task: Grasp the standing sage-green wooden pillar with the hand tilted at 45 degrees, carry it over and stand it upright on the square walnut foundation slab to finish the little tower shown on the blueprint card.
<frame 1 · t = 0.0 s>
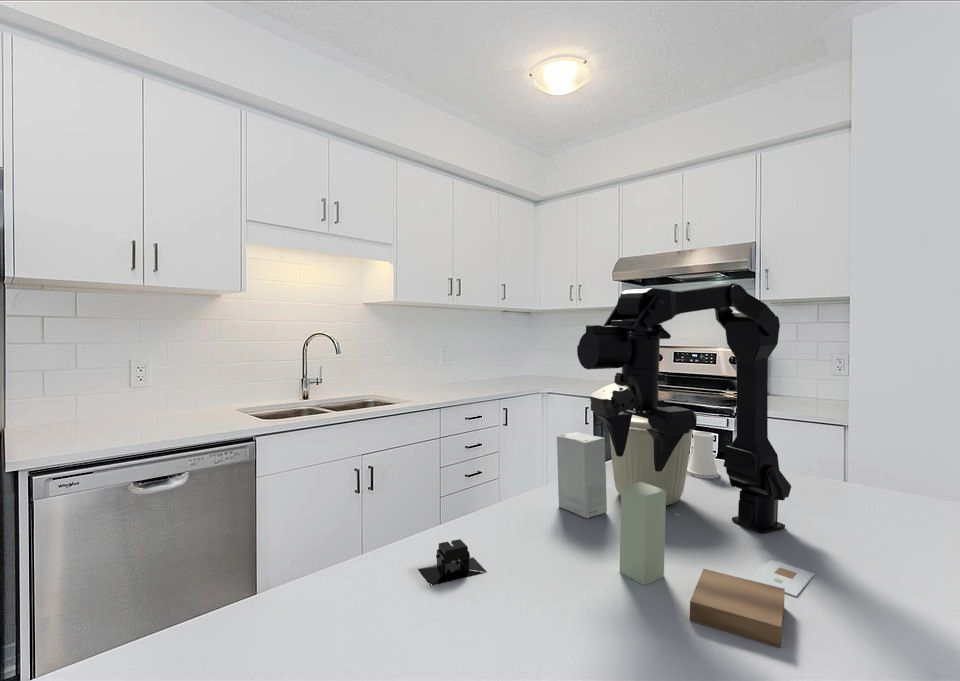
hand: (638, 463, 83), 15 cm above the table, tool pointing down, fingers open, 9 cm apart
vase: (702, 474, 126), on the table
skincare box: (580, 510, 102), on the table
foundation slab: (737, 613, 67), on the table
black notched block: (452, 575, 78), on the table
blueprint card: (782, 577, 76), on the table
pillar: (641, 574, 77), on the table
canister: (648, 498, 109), on the table
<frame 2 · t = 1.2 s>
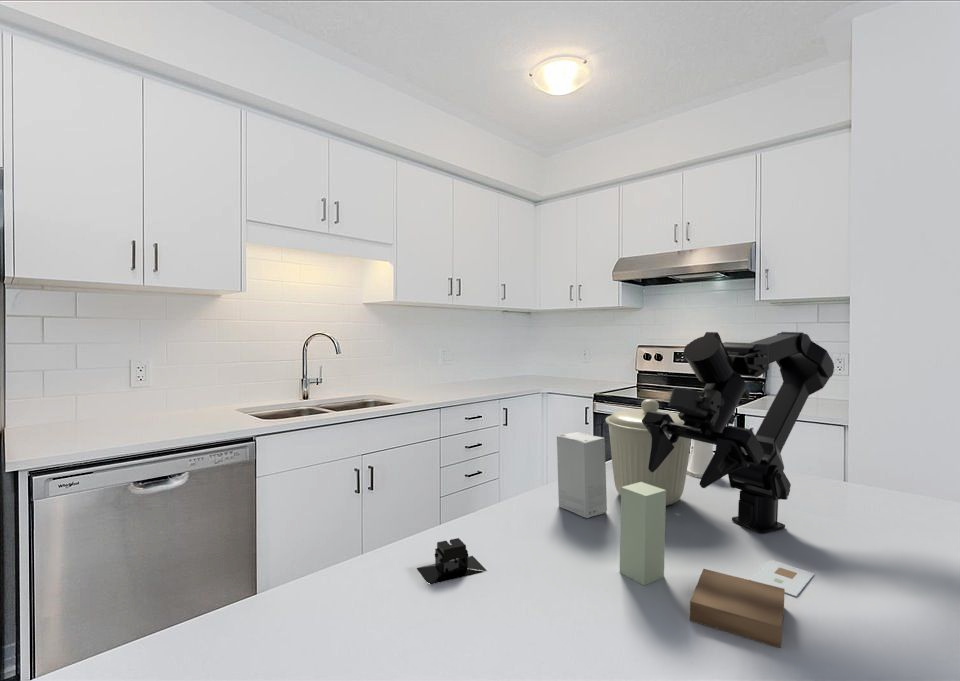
hand: (674, 478, 80), 13 cm above the table, tool tilted 45°, fingers open, 9 cm apart
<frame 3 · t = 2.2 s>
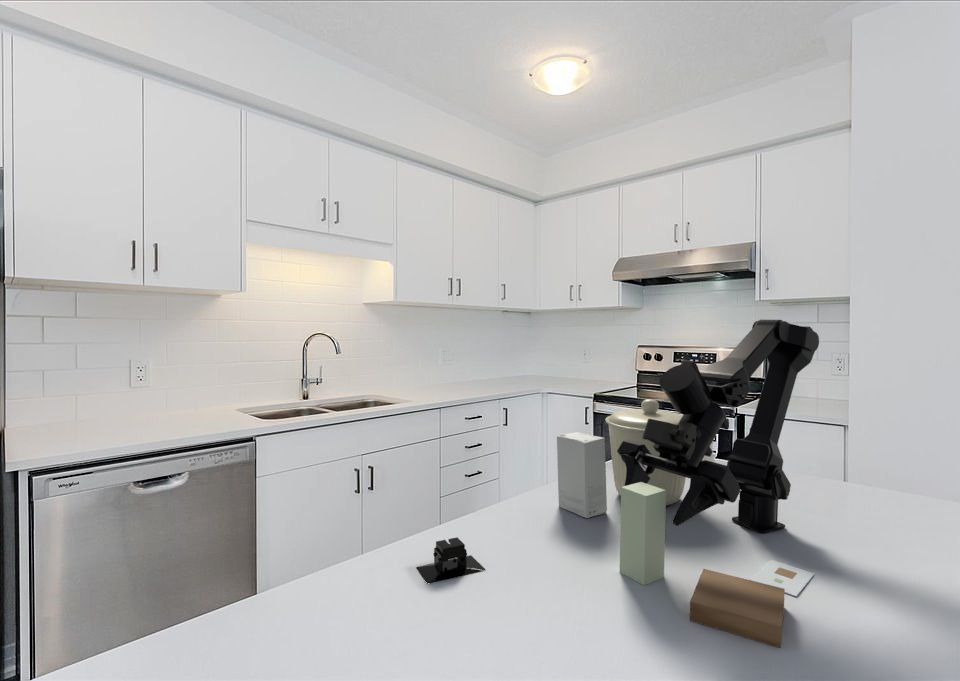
hand: (648, 513, 77), 9 cm above the table, tool tilted 45°, fingers open, 9 cm apart
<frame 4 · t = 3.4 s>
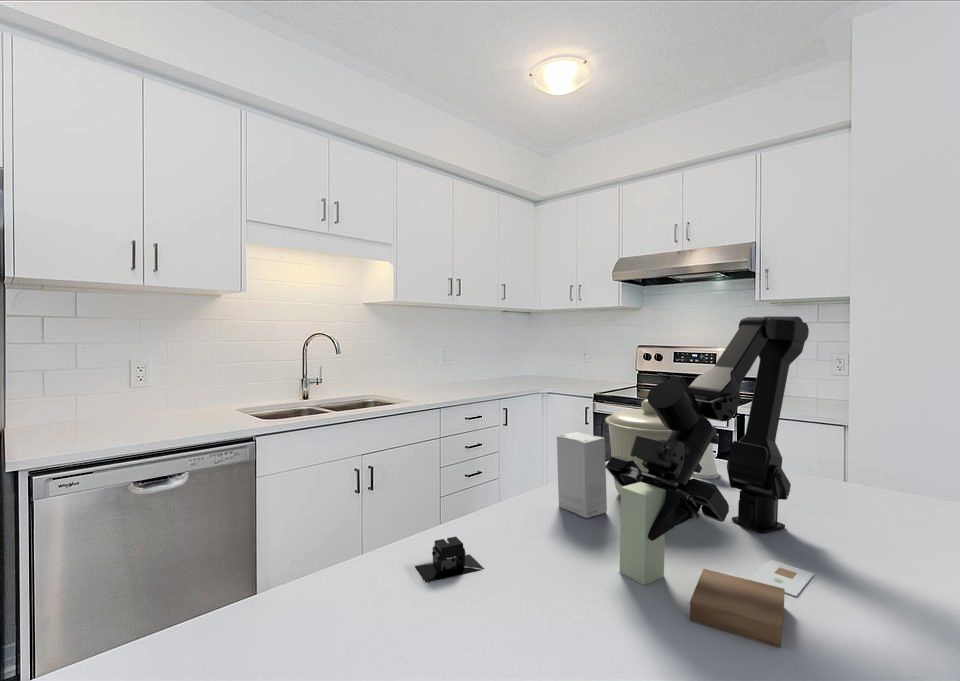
hand: (636, 533, 76), 7 cm above the table, tool tilted 45°, fingers closed on pillar, 4 cm apart
pillar: (641, 574, 77), on the table, touching gripper
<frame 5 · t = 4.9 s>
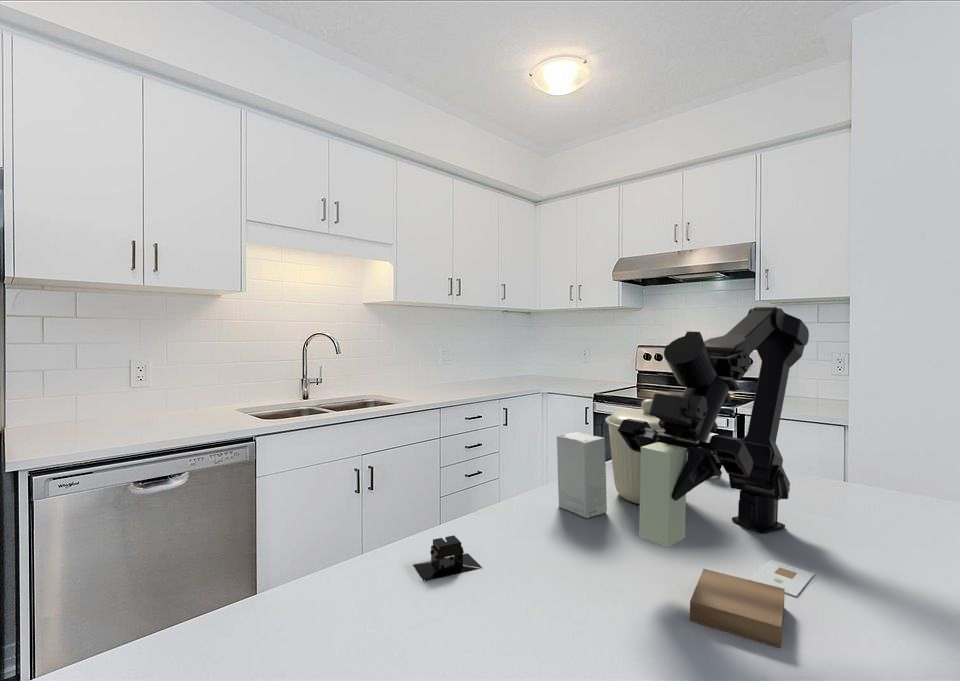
hand: (657, 494, 73), 13 cm above the table, tool tilted 45°, fingers closed on pillar, 4 cm apart
pillar: (661, 537, 74), point 7 cm above the table, touching gripper
when the fingers open (10 cm above the table, at t = 6.4 s): pillar stays where it is, resting on foundation slab.
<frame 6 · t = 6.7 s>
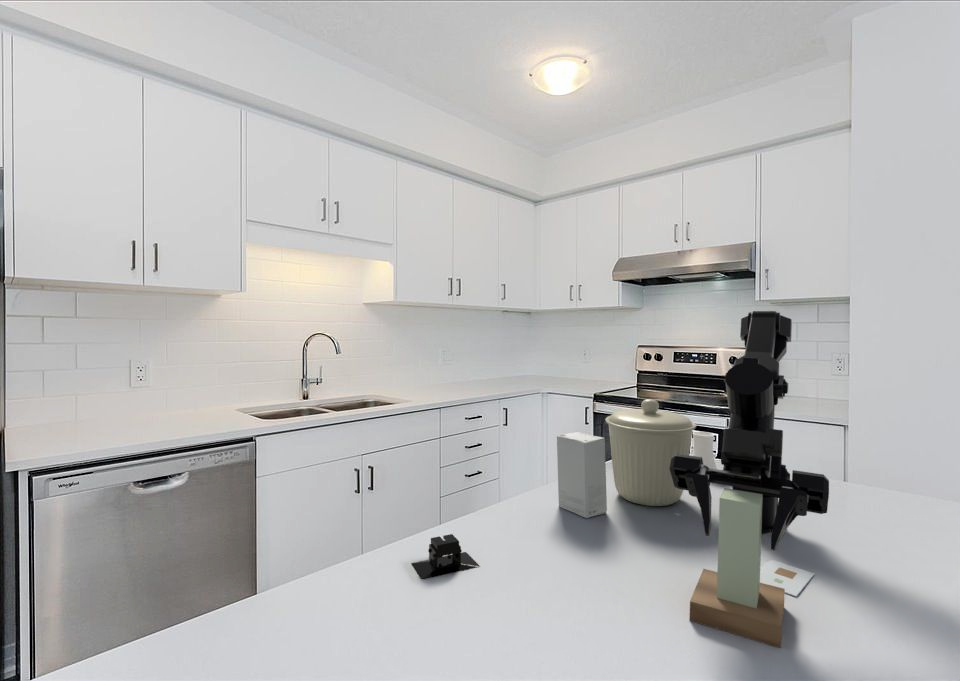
hand: (738, 541, 65), 10 cm above the table, tool tilted 45°, fingers open, 7 cm apart
pillar: (738, 594, 67), point 2 cm above the table, touching foundation slab
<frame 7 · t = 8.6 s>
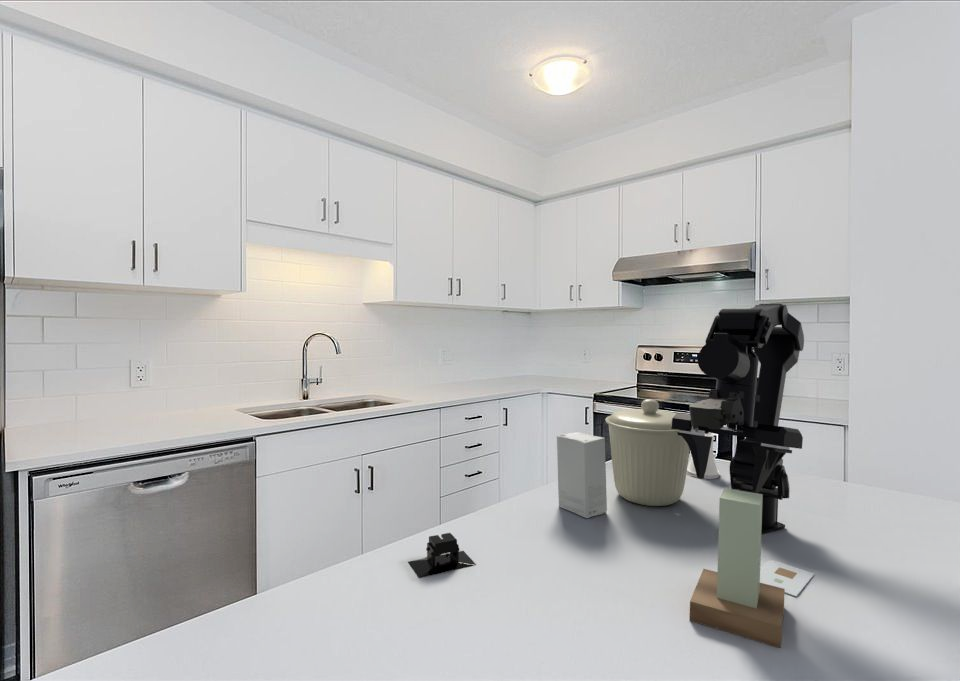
hand: (726, 485, 80), 12 cm above the table, tool pointing down, fingers open, 9 cm apart
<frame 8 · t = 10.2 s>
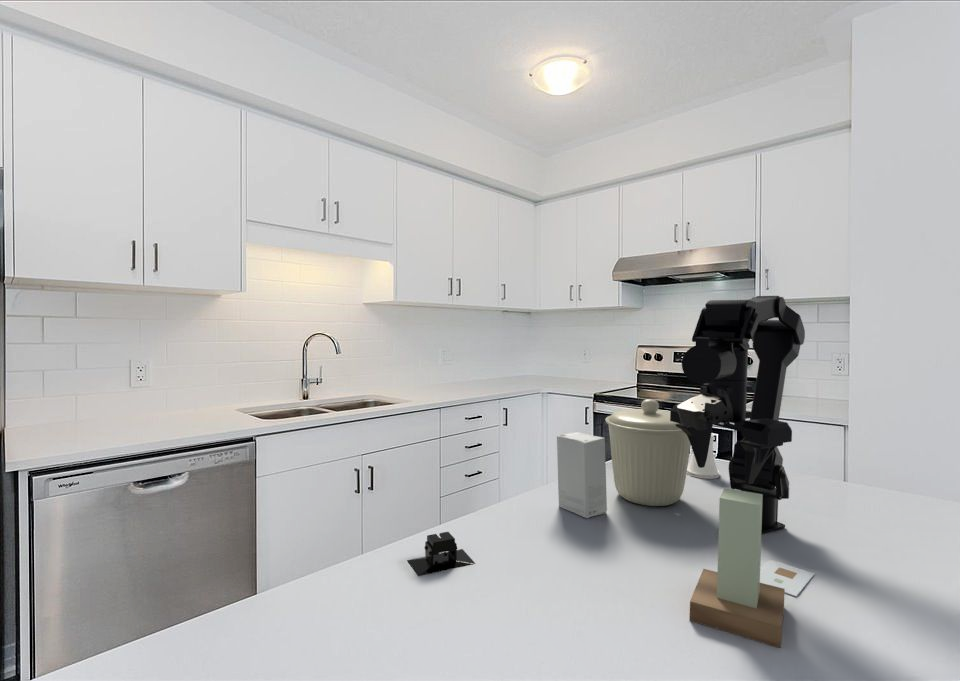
hand: (724, 475, 83), 13 cm above the table, tool pointing down, fingers open, 9 cm apart
at the end: pillar inside the target area on the foundation slab (0.0 cm from its centre), point 2.5 cm above the foundation slab's base; pillar tilted 0°; the gripper is holding nothing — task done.
